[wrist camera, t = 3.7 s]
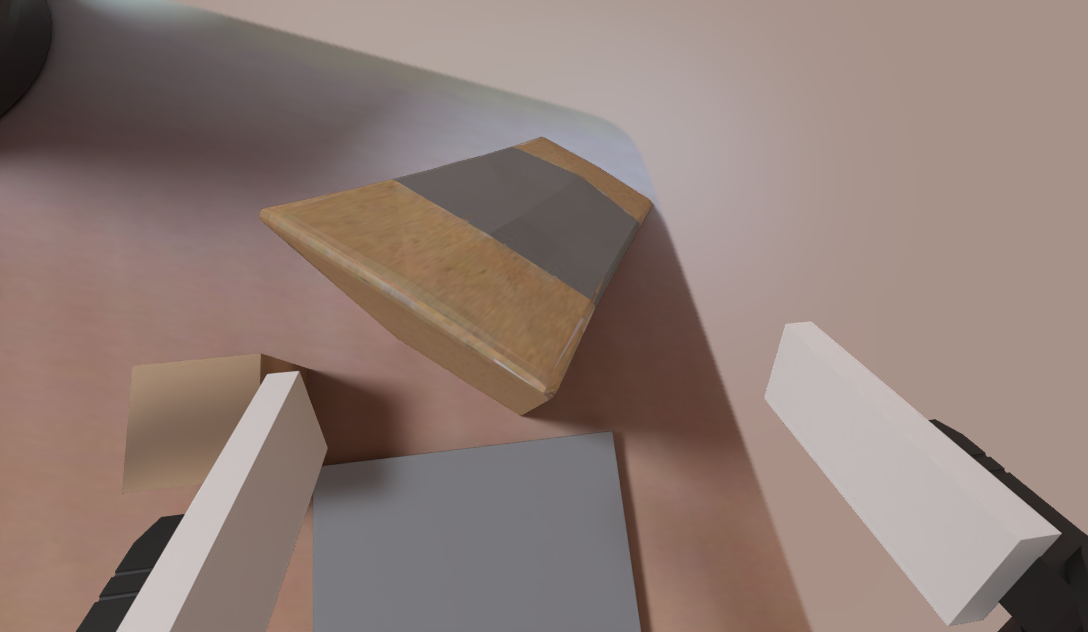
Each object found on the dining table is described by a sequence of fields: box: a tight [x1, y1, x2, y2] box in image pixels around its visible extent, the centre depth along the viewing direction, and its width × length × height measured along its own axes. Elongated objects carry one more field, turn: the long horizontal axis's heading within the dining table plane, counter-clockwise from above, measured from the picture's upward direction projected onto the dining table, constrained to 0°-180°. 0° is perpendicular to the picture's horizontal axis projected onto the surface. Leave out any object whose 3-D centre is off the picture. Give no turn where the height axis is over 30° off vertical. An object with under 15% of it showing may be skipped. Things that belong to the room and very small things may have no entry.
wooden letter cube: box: [122, 353, 308, 494], centre depth 21 cm, size 5×5×5 cm
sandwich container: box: [259, 137, 653, 416], centre depth 20 cm, size 9×15×15 cm, turn 149°
